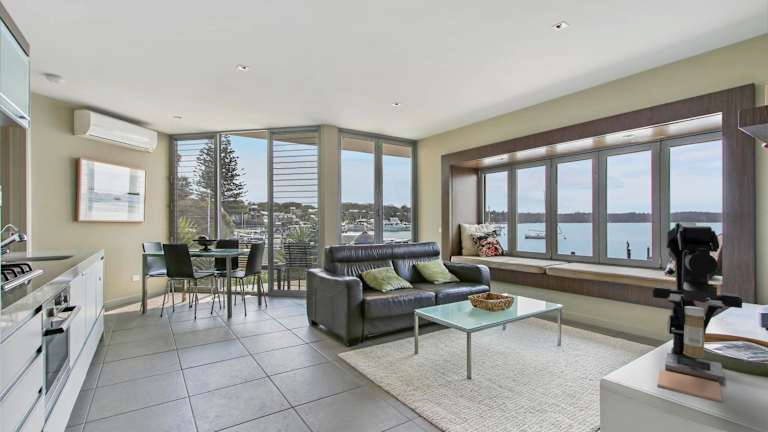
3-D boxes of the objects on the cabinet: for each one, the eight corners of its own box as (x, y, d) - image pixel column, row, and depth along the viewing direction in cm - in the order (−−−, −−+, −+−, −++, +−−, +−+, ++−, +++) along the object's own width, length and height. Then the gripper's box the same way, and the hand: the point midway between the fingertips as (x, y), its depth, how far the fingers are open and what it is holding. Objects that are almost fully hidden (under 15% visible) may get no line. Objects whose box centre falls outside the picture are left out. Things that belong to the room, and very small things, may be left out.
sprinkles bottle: (706, 357, 103) (708, 308, 103) (700, 360, 100) (702, 310, 100) (686, 351, 106) (687, 304, 106) (680, 354, 104) (681, 306, 104)
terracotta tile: (660, 371, 102) (660, 369, 102) (718, 384, 95) (718, 382, 95) (657, 386, 93) (657, 383, 93) (722, 402, 85) (722, 399, 85)
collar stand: (667, 359, 112) (667, 352, 112) (720, 370, 104) (721, 363, 104) (665, 371, 102) (665, 364, 102) (723, 384, 95) (724, 376, 95)
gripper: (651, 270, 103) (650, 326, 103) (745, 278, 91) (744, 341, 91) (654, 266, 112) (653, 318, 112) (740, 273, 100) (739, 331, 100)
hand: (694, 327), depth 103 cm, fingers closed on sprinkles bottle, 4 cm apart
